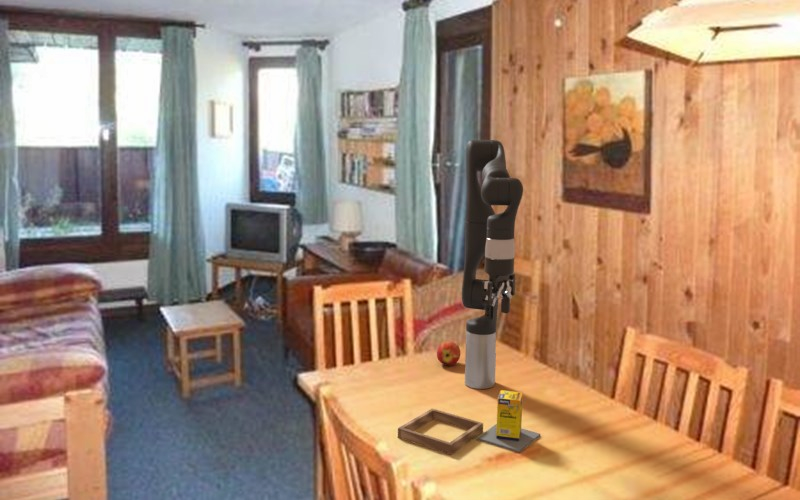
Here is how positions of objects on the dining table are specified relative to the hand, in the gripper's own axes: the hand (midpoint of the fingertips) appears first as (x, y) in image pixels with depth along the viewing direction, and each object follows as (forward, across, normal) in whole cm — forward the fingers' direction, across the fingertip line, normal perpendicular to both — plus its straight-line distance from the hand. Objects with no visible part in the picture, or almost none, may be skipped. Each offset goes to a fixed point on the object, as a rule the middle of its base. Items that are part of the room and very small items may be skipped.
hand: (497, 316), depth 179 cm
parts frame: (+30, +14, -8) cm, 34 cm away
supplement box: (+30, +5, +7) cm, 31 cm away
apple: (+30, -34, -36) cm, 58 cm away
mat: (+30, +5, +7) cm, 31 cm away
